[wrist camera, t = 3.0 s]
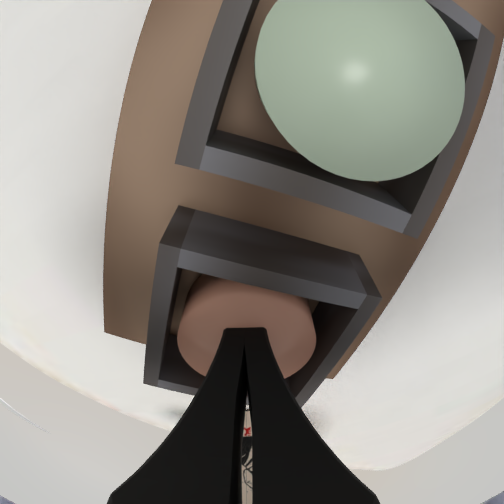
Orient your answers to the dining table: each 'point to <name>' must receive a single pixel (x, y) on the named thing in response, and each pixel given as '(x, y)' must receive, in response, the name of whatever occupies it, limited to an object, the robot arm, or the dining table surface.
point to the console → (259, 190)
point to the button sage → (360, 83)
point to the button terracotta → (244, 322)
